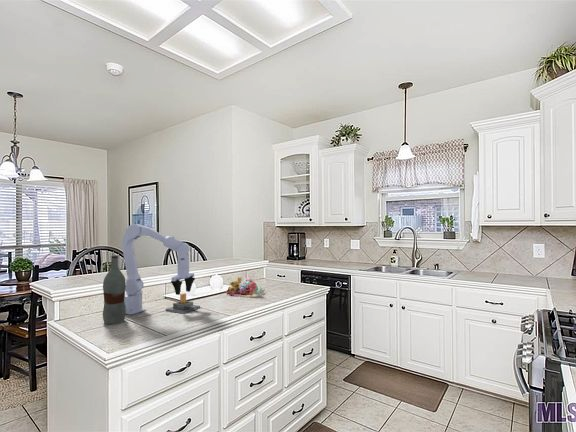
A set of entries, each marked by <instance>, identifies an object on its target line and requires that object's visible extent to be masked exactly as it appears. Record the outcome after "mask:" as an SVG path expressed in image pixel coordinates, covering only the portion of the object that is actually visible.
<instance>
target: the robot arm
mask: <svg viewBox="0 0 576 432" xmlns="http://www.w3.org/2000/svg"><path fill="white" fill-rule="evenodd" d="M142 236H143V237H145V236H148V237H150V238H153V239H155V240H157V241H159V242H162V244H163V246H164V247H166V248H168V249H170V250H172V251H174V252H176V253H177V275H174V276H172V277H171V282H170V283H171V284H172V286H173V289H174V293H175V295H177V296H180V294H181V287H182V284H183V281H182V280H184V283H185V291H186V292H188V293H190V292H191V290H192V287H193V283H194V281H195V279H196V278H195V272H194V273H193V272H190V253H189V252H190V249H191V247H190V245H189V244H188V243H187V242H183V241H184V240H180V239H177V238H175V236H173V235H168V236H165V235H163V234H162V233H160V232H158V231H156V230H154V229H153V228H151V227H148V226H146V225H143V224H140V223H134V224H133V223H132V224H130V225H128V227H126V229H124V234H123V237H122V238H121V247H122V253H123V260H124V265H125V270H126V271H125V272H126V278H125V282H126V287H125V293H126V294H125V298H124V302H125V309H126V314H125V315H130V316H131V315H134V314H138V313H141V312H143V311H147V308H143V291H142V289H144V282H143V280H142V277H141V274H139V271H138V264H137V257H136V252H135V246H134V243H135V242H136V240H138V238H140V237H142ZM180 280H181V281H180Z"/></svg>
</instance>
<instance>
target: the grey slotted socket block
mask: <svg viewBox="0 0 576 432" xmlns="http://www.w3.org/2000/svg"><path fill="white" fill-rule="evenodd" d="M172 305H173V306H171V307H167V308H165V312H170V313H177V314H184V315H185V314H188V313H191V312H192V311H195V310H198V309H200V308H201V305H195V304H194V301H190V300H186V304H180V300H179V301H177V302H174V303H172Z"/></svg>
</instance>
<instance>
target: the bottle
mask: <svg viewBox="0 0 576 432" xmlns="http://www.w3.org/2000/svg"><path fill="white" fill-rule="evenodd" d="M110 257H111V260H110V262H111V266H110V269H109V270H108V272H107V273H106V274H105V276H104V278H103V282H102V284H103V285H102V291H103V303H104V305H103V308H102V320H103V321H102V322H103V323H104V324H105V325H109V326H110V325H118V324H121V323H124V321H125V318H126V315H127V314H126V309H125V302H124V298H125V296H126V291H125V287H126V278H125V275H124V274H123V272H122V271H121V270H120V268H119V258H118V257H119V256H118V255H110Z"/></svg>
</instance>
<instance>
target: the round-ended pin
mask: <svg viewBox="0 0 576 432" xmlns="http://www.w3.org/2000/svg"><path fill="white" fill-rule="evenodd" d="M179 301H180V304H186V301H187V293H185V292H184V293H183V292H182V293H181V292H180V295H179Z"/></svg>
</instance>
